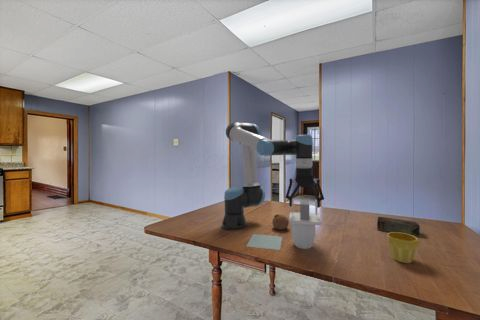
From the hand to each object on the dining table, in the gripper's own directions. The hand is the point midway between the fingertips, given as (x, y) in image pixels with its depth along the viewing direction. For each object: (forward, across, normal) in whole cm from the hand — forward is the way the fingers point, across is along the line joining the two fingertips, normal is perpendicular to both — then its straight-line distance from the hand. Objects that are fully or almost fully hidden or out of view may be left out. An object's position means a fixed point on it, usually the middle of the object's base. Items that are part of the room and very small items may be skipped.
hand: (304, 213), depth 105 cm
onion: (+16, -13, +20) cm, 29 cm away
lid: (+3, 0, 0) cm, 3 cm away
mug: (+16, 0, 0) cm, 16 cm away
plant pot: (+16, +39, -4) cm, 42 cm away
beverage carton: (+16, +51, +32) cm, 62 cm away
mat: (+16, -19, 0) cm, 25 cm away
